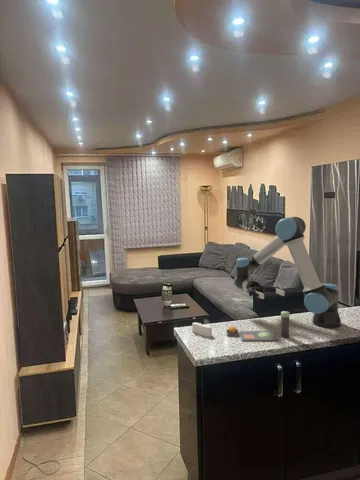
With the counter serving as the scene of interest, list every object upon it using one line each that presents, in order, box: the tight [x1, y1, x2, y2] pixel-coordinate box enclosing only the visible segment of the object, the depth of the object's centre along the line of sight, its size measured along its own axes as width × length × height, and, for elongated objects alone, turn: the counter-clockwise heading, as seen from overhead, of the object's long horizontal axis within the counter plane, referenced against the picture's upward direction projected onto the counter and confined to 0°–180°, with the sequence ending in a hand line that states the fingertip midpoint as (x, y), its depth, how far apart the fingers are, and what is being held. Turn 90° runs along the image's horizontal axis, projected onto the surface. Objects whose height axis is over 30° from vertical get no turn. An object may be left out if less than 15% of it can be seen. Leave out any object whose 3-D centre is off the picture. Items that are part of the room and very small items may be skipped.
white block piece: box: [191, 321, 213, 338], centre depth 192 cm, size 15×11×6 cm
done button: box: [228, 326, 237, 333], centre depth 190 cm, size 4×4×2 cm
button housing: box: [226, 328, 240, 337], centre depth 190 cm, size 6×6×2 cm
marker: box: [280, 310, 290, 339], centre depth 184 cm, size 4×4×13 cm
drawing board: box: [239, 330, 279, 342], centre depth 185 cm, size 18×12×1 cm, turn 87°
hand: (273, 295), depth 191 cm, fingers open, 13 cm apart
